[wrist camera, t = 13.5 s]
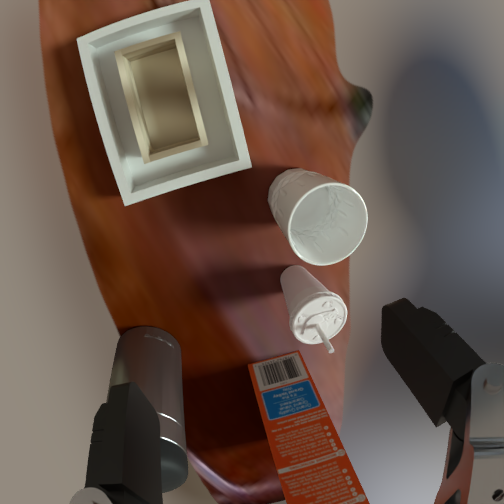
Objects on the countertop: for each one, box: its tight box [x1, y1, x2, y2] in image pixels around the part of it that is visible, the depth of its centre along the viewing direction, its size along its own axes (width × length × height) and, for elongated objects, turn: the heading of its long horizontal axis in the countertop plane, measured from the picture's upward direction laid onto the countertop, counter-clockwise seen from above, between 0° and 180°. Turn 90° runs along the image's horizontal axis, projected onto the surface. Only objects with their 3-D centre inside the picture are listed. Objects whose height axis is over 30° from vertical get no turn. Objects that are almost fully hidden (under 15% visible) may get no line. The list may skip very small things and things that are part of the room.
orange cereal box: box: [247, 350, 369, 504], centre depth 39 cm, size 23×8×30 cm, turn 10°
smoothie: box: [280, 265, 347, 353], centre depth 36 cm, size 6×6×14 cm
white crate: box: [77, 0, 252, 206], centre depth 28 cm, size 18×13×4 cm
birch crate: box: [114, 31, 209, 164], centre depth 27 cm, size 11×6×5 cm, turn 13°
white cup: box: [268, 168, 368, 265], centre depth 33 cm, size 8×8×10 cm
